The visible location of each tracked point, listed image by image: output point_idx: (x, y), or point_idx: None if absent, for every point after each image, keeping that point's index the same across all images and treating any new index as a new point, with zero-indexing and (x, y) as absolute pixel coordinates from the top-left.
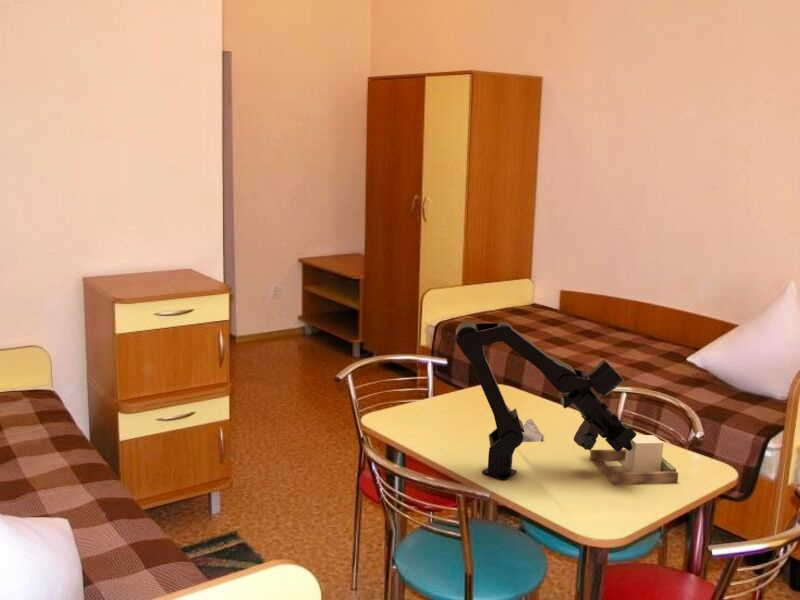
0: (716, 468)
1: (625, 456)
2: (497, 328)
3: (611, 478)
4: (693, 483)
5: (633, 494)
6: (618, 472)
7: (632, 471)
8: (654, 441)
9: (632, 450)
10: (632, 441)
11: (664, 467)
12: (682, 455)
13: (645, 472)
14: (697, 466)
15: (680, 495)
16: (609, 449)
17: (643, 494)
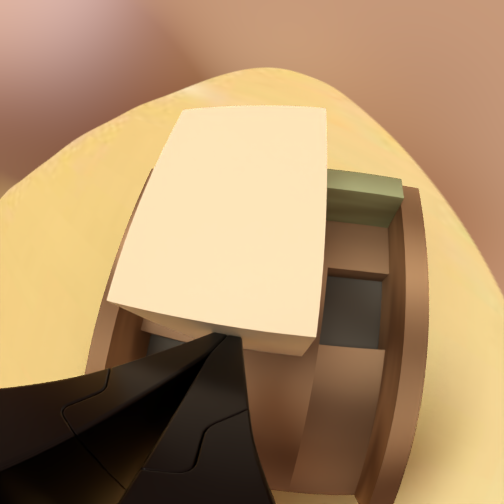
0: (265, 79)
1: (184, 334)
2: None
3: (315, 478)
4: (354, 155)
5: (420, 418)
6: (375, 487)
7: (291, 354)
8: (292, 142)
9: (252, 339)
10: (219, 326)
11: (335, 201)
12: (173, 108)
13: (412, 342)
14: (242, 101)
15: (442, 242)
16: (89, 351)
17: (428, 378)
